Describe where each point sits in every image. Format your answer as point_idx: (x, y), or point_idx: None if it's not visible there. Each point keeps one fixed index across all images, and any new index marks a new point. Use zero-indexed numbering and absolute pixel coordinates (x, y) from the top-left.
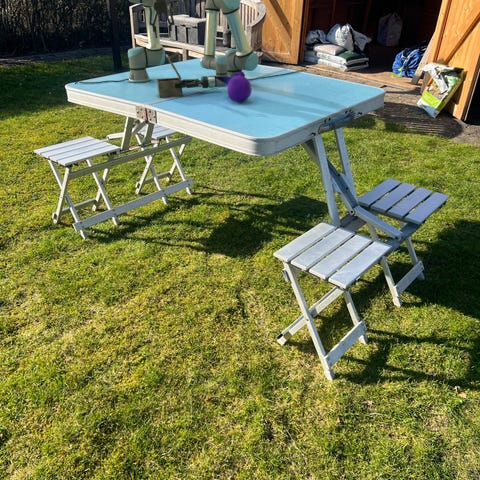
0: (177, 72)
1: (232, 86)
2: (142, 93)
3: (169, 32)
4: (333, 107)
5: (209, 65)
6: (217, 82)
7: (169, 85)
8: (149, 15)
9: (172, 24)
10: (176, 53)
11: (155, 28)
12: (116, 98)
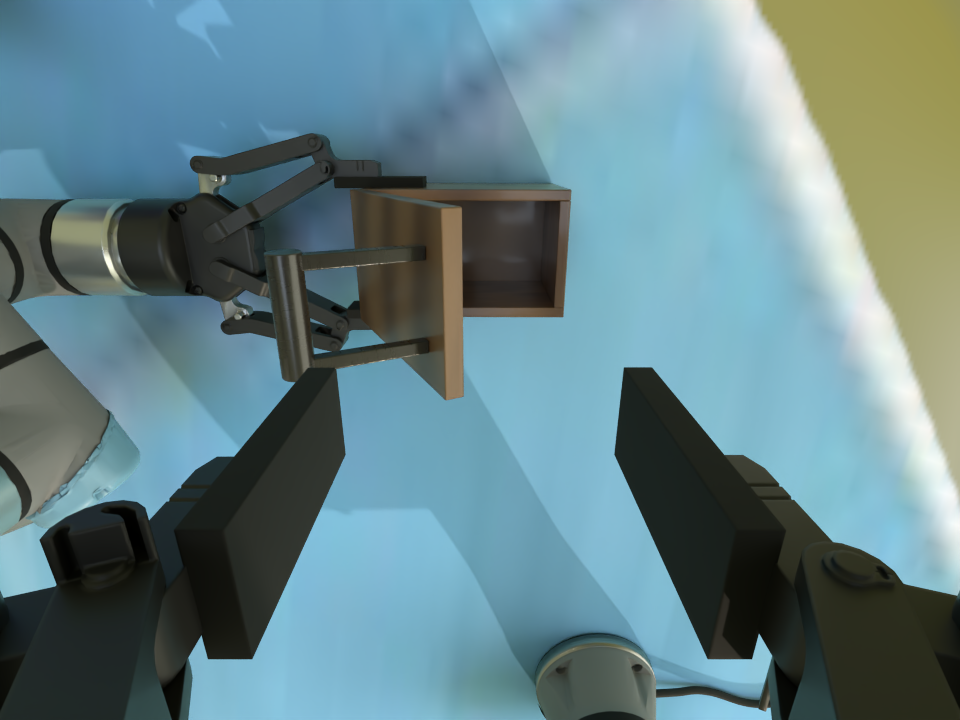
0: (375, 193)
1: None
2: (639, 366)
3: (296, 413)
4: None
5: (32, 347)
6: (57, 200)
7: (472, 187)
8: None
9: (40, 592)
10: (317, 354)
11: (728, 482)
12: (835, 277)
